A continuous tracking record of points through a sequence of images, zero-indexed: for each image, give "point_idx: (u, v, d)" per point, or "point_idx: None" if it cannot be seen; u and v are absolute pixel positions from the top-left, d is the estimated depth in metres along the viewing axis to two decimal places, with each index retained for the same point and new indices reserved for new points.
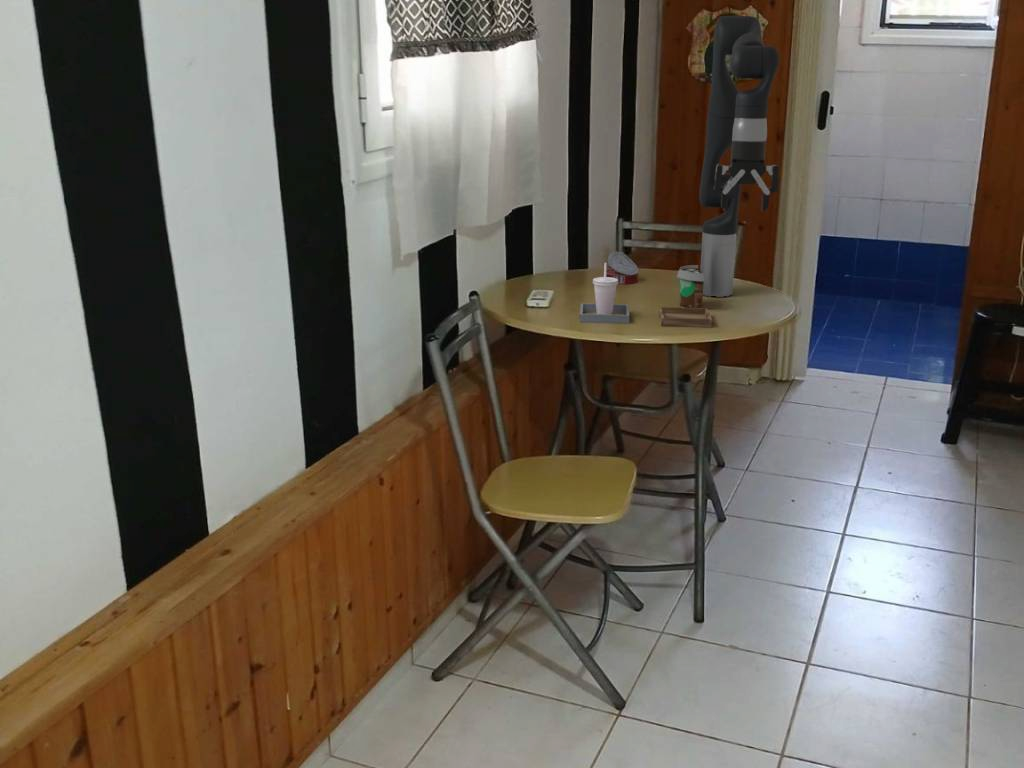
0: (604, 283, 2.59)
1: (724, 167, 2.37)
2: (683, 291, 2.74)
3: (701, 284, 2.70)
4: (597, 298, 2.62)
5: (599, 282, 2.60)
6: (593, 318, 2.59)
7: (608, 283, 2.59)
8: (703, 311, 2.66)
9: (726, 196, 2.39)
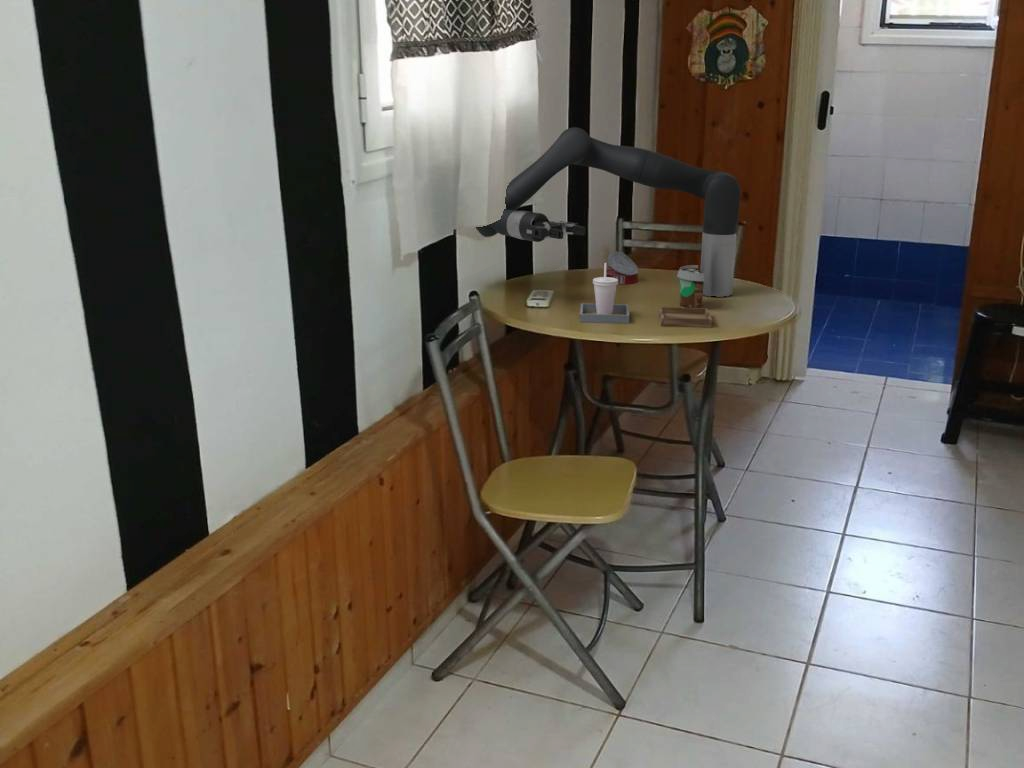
0: (604, 283, 2.59)
1: None
2: (683, 291, 2.74)
3: (701, 284, 2.70)
4: (597, 298, 2.62)
5: (599, 282, 2.60)
6: (593, 318, 2.59)
7: (608, 283, 2.59)
8: (703, 311, 2.66)
9: None
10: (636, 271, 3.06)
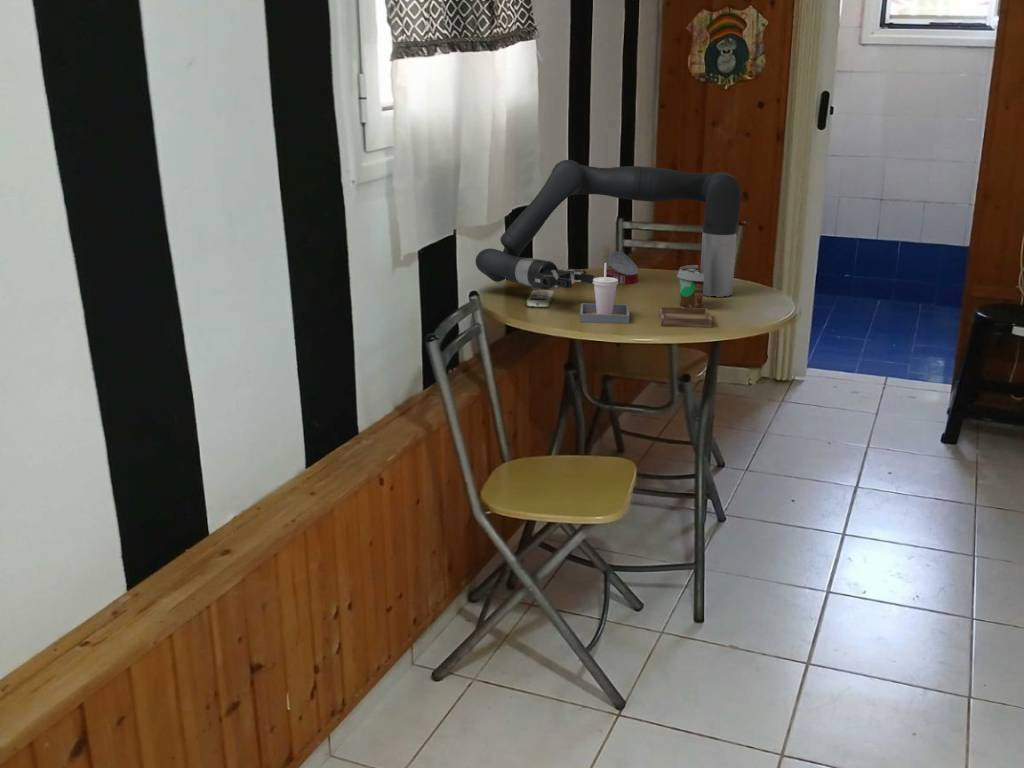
0: (604, 283, 2.59)
1: None
2: (683, 291, 2.74)
3: (701, 284, 2.70)
4: (597, 298, 2.62)
5: (599, 282, 2.60)
6: (593, 318, 2.59)
7: (608, 283, 2.59)
8: (703, 311, 2.66)
9: (583, 281, 2.73)
10: (636, 271, 3.06)
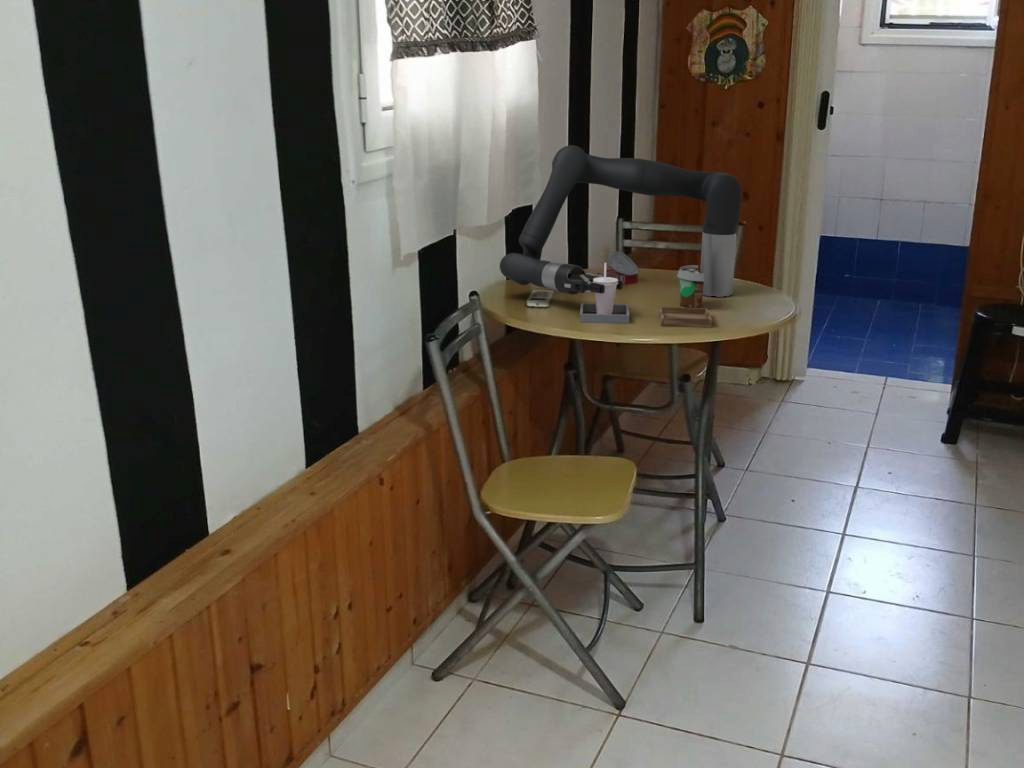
0: (604, 283, 2.59)
1: None
2: (683, 291, 2.74)
3: (701, 284, 2.70)
4: (597, 298, 2.62)
5: (599, 282, 2.60)
6: (593, 318, 2.59)
7: (608, 283, 2.59)
8: (703, 311, 2.66)
9: None
10: (636, 271, 3.06)
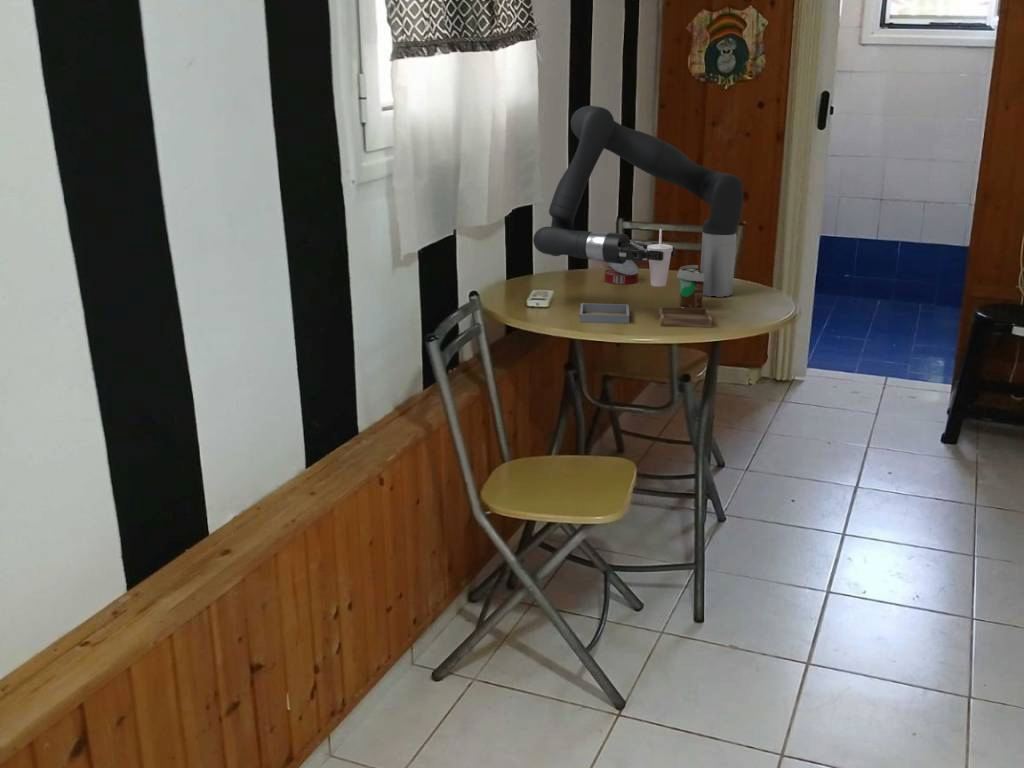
0: (662, 250, 2.54)
1: None
2: (683, 291, 2.74)
3: (701, 284, 2.70)
4: (653, 266, 2.56)
5: (656, 249, 2.54)
6: (593, 318, 2.59)
7: (666, 250, 2.54)
8: (703, 311, 2.66)
9: None
10: (636, 271, 3.06)
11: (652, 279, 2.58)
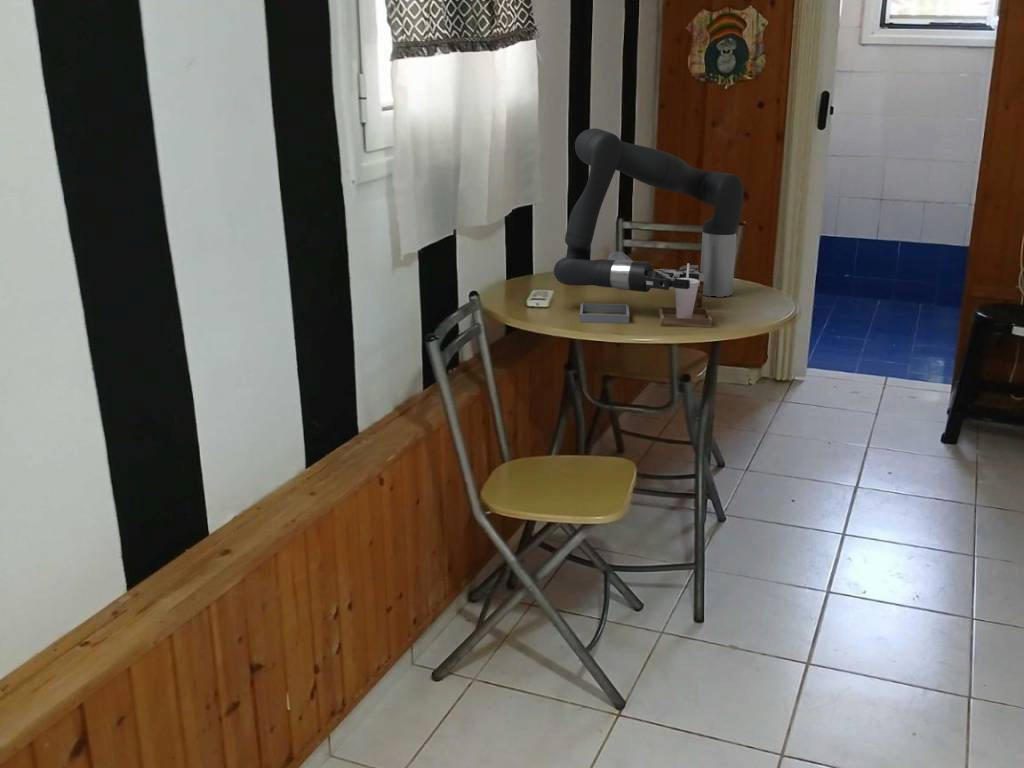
0: (690, 284, 2.55)
1: None
2: None
3: (701, 284, 2.70)
4: (681, 300, 2.58)
5: None
6: (593, 318, 2.59)
7: (694, 284, 2.56)
8: (703, 311, 2.66)
9: None
10: None
11: (679, 313, 2.59)
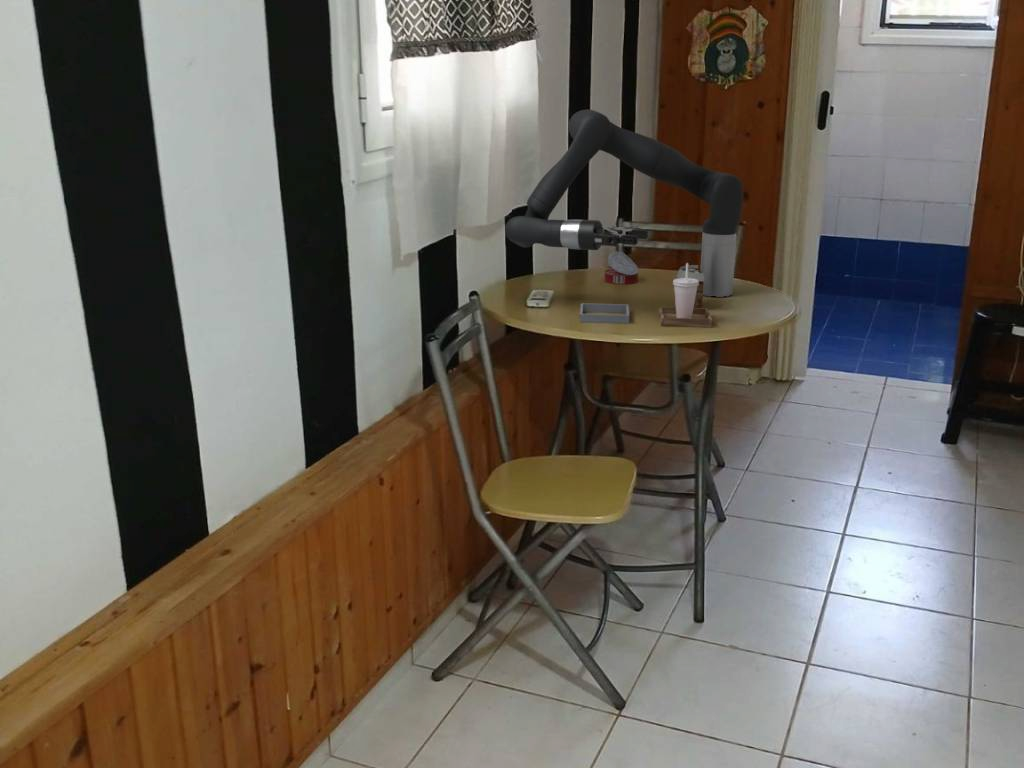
0: (690, 284, 2.55)
1: None
2: None
3: (701, 284, 2.70)
4: (680, 300, 2.58)
5: (684, 283, 2.56)
6: (593, 318, 2.59)
7: (693, 284, 2.56)
8: (703, 311, 2.66)
9: None
10: (636, 271, 3.06)
11: (679, 313, 2.59)
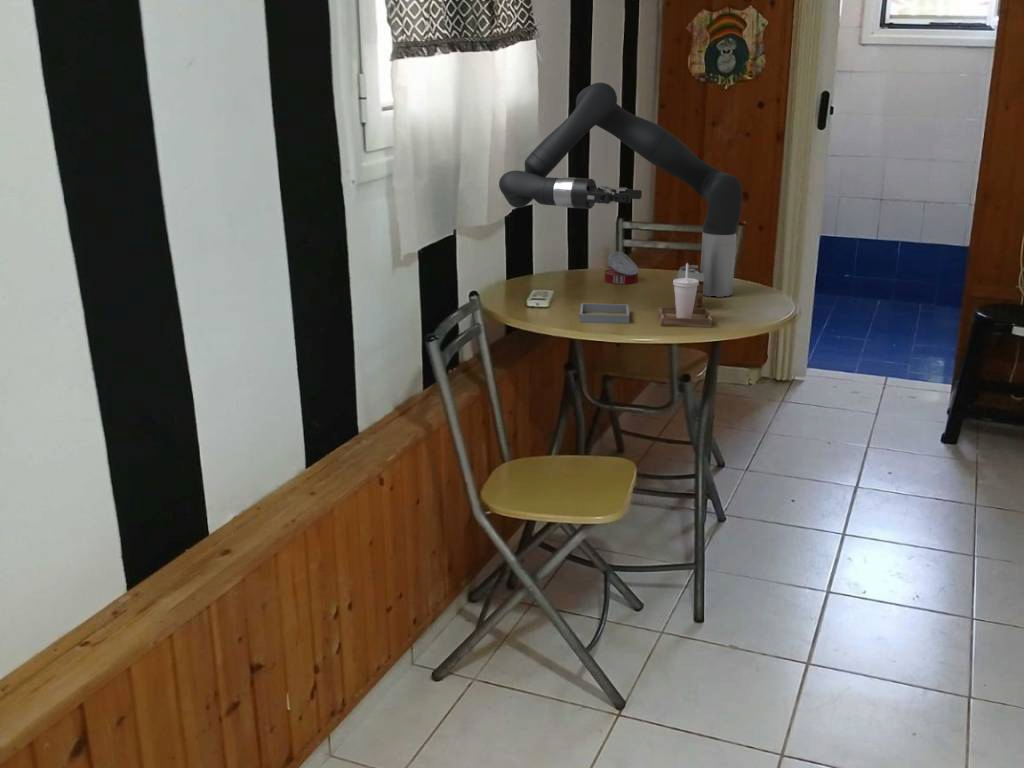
0: (690, 284, 2.55)
1: None
2: None
3: (701, 284, 2.70)
4: (680, 300, 2.58)
5: (684, 283, 2.56)
6: (593, 318, 2.59)
7: (693, 284, 2.56)
8: (703, 311, 2.66)
9: None
10: (636, 271, 3.06)
11: (679, 313, 2.59)
